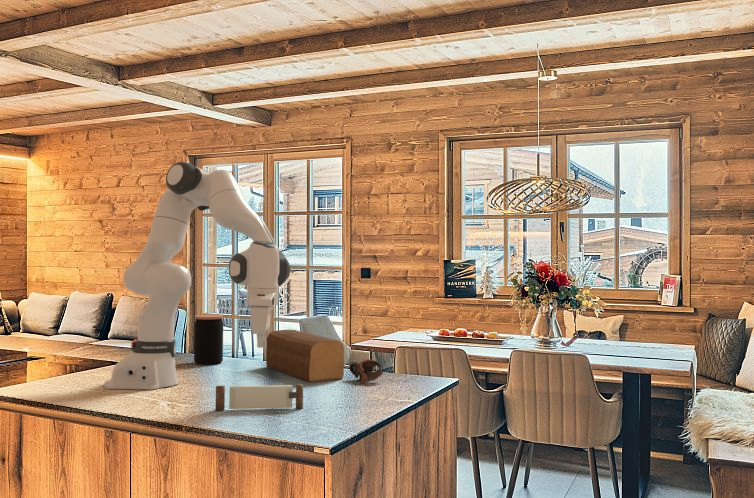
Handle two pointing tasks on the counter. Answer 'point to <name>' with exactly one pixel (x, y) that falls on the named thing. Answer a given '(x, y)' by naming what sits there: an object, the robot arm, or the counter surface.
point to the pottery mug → (366, 370)
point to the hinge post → (220, 398)
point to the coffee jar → (208, 339)
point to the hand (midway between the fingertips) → (260, 347)
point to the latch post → (298, 396)
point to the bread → (305, 355)
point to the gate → (260, 397)
